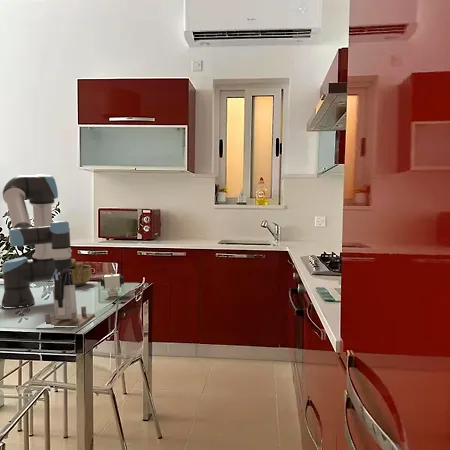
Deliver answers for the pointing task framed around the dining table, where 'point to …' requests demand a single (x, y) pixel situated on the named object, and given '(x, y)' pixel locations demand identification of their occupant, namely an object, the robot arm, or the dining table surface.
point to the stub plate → (70, 319)
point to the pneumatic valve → (112, 283)
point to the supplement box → (67, 302)
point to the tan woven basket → (80, 273)
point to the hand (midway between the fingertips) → (66, 312)
